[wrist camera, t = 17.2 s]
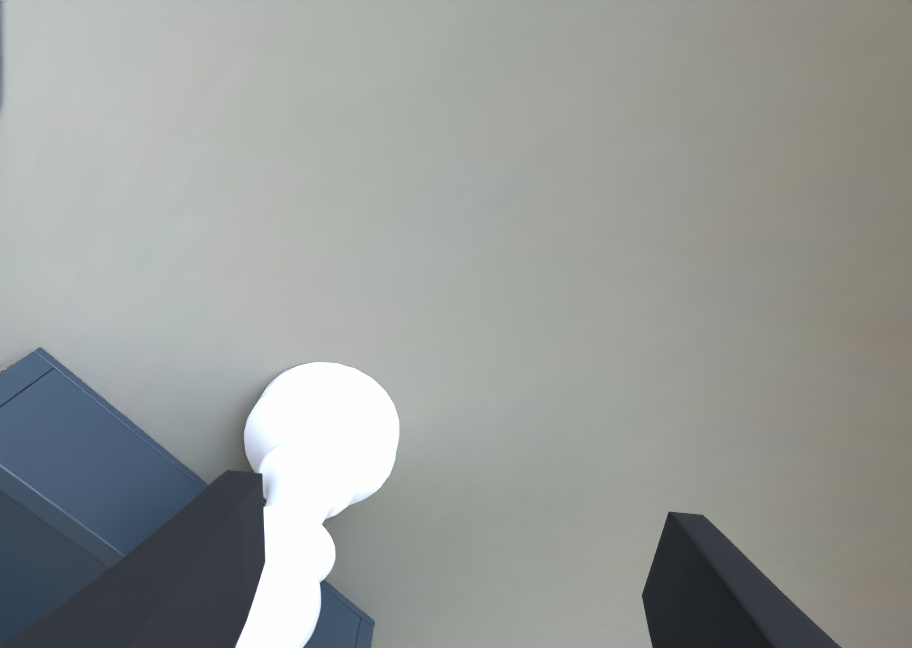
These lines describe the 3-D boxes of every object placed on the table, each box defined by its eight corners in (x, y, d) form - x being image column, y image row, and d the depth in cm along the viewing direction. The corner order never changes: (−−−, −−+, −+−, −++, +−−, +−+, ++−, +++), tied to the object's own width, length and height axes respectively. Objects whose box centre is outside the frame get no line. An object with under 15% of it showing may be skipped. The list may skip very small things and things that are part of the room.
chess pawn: (262, 347, 19) (112, 552, 11) (410, 373, 20) (370, 591, 11) (255, 467, 21) (123, 717, 13) (390, 489, 22) (343, 745, 13)
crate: (-171, 552, 23) (-299, 650, 20) (40, 346, 20) (-67, 416, 16) (155, 753, 28) (105, 864, 24) (375, 621, 25) (358, 727, 21)
